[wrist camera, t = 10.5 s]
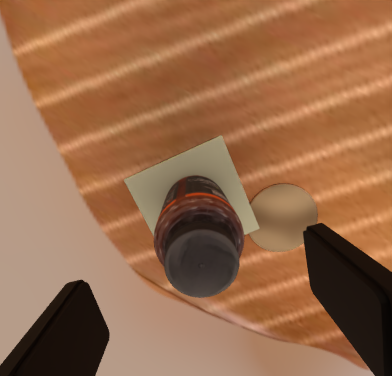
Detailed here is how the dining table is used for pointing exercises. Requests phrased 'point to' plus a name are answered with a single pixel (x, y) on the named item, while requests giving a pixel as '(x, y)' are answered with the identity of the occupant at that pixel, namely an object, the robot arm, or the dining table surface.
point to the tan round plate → (282, 217)
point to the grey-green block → (188, 166)
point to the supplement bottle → (198, 237)
